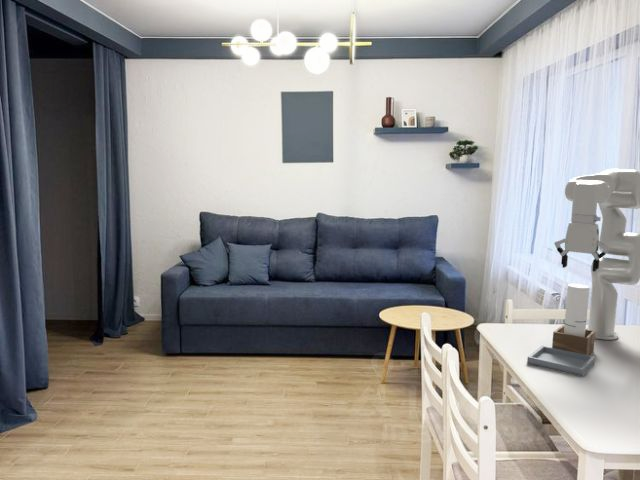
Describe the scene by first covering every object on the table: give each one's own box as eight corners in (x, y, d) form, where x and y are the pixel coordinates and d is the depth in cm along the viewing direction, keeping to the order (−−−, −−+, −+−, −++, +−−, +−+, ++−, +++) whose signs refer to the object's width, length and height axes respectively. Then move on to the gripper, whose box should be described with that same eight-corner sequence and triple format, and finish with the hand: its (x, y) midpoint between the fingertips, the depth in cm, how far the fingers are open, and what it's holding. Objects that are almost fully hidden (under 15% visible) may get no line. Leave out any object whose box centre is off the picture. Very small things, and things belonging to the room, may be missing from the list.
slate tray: (541, 352, 214) (542, 345, 213) (594, 363, 203) (595, 356, 202) (527, 363, 201) (527, 356, 201) (582, 376, 190) (583, 369, 190)
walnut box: (560, 345, 222) (562, 325, 221) (593, 352, 215) (595, 331, 214) (551, 353, 213) (553, 331, 211) (585, 360, 206) (587, 338, 204)
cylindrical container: (585, 356, 210) (591, 288, 206) (564, 355, 211) (570, 287, 207) (580, 350, 216) (586, 284, 213) (560, 348, 218) (565, 283, 214)
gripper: (613, 220, 195) (609, 270, 198) (559, 216, 205) (556, 263, 208) (609, 222, 189) (604, 274, 192) (553, 218, 199) (550, 267, 202)
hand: (579, 268), depth 200 cm, fingers open, 9 cm apart
